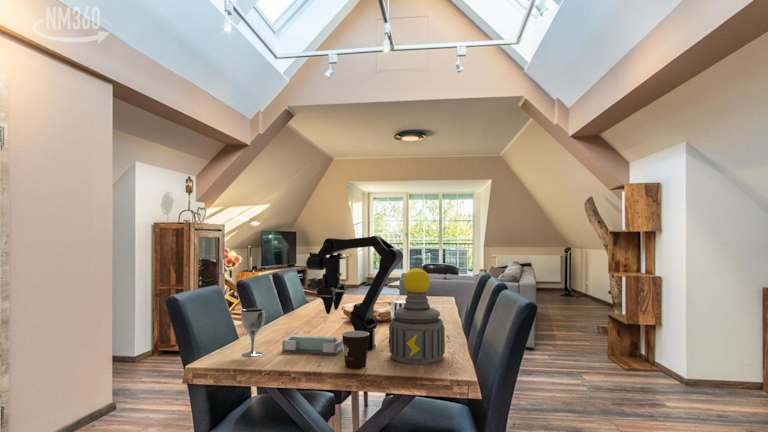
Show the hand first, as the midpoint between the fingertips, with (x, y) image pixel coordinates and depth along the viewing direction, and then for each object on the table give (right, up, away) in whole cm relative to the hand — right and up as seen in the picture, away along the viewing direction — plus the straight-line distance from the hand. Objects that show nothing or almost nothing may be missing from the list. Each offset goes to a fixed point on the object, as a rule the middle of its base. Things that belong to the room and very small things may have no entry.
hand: (332, 311), depth 161 cm
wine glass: (-26, -11, -16) cm, 32 cm away
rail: (-5, -10, -12) cm, 16 cm away
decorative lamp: (+31, -11, -18) cm, 38 cm away
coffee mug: (+11, -11, -27) cm, 31 cm away
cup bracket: (-5, -11, -12) cm, 17 cm away
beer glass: (+26, -13, +6) cm, 30 cm away
